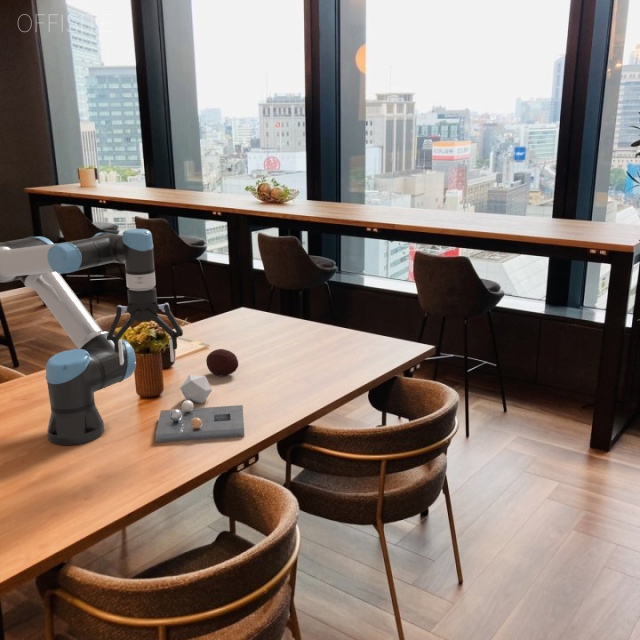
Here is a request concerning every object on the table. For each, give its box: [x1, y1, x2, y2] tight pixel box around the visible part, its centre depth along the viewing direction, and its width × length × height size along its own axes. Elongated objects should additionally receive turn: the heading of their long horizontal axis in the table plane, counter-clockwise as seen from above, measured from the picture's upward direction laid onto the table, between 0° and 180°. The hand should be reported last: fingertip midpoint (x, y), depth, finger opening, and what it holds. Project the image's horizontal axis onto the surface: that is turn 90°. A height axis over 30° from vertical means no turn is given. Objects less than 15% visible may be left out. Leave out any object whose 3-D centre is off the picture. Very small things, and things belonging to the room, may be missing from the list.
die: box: [179, 374, 213, 404], centre depth 216 cm, size 8×9×10 cm
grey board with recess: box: [155, 404, 245, 443], centre depth 198 cm, size 24×16×2 cm, turn 98°
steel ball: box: [170, 408, 182, 421], centre depth 197 cm, size 3×3×3 cm
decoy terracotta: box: [191, 418, 202, 429], centre depth 192 cm, size 3×3×3 cm
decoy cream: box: [181, 399, 194, 412], centre depth 203 cm, size 3×3×3 cm
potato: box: [205, 348, 239, 377], centre depth 237 cm, size 9×12×9 cm
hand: (147, 361), depth 192 cm, fingers open, 13 cm apart
